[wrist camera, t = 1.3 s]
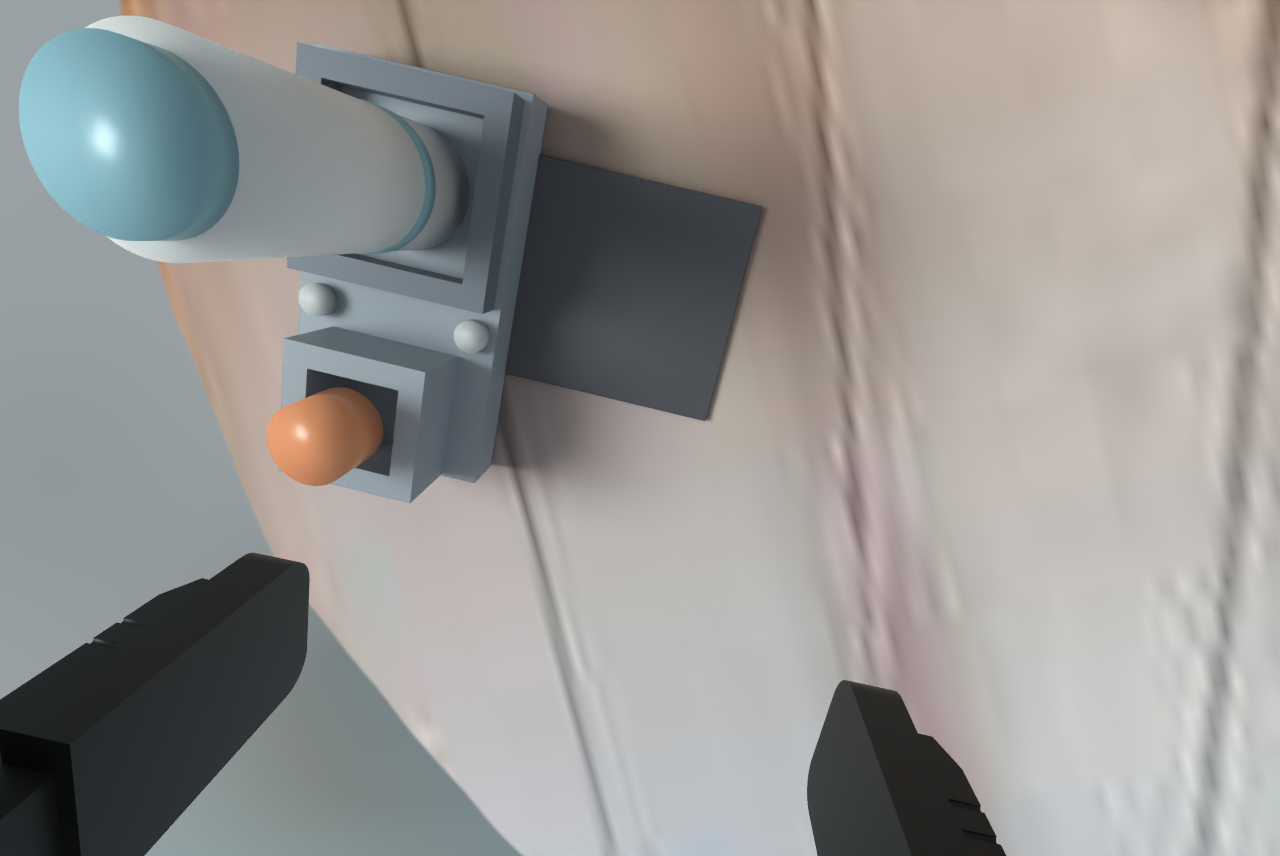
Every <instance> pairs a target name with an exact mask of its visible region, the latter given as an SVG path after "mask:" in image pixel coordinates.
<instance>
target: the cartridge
mask: <svg viewBox="0 0 1280 856" xmlns="http://www.w3.org/2000/svg"><path fill="white" fill-rule="evenodd" d="M19 121H20V128H21V134H22V137H23V142H24V146H25V149H26V151H27V154H28V157H29V159H30V162H31V164H32V165H33V168H34V170H35V172H36V174H37V176H38V177H39V179H40V181H41V182H42V184H43V185H44V187H45V188H46V189H47V191H48V192H49V194H50V195H51V196H52V197H53V198H54V199H55V201H56V202H57V203H58V204H59V205H60V206H61V207H62V208H63V209H64V210H65V211H66V212H67V213H68V214H69V215H71V216H72V217H73V218H75V219H76V220H77V221H79V222H80V223H81V224H83V225H85V226H86V227H88V228H90V229H91V230H93V231H96V232H98V233H100V234H102V235H105V236H106V237H108V238H109V239H111V240H112V241H113V242H114V243H116V244H118V245H120V246H121V247H123V248H125V249H126V250H128V251H130V252H133V253H135V254H137V255H139V256H141V257H145V258H148V259H151V260H155V261H160V262H166V263H193V262H211V261H229V260H247V259H265V258H283V257H301V256H318V255H336V254H354V253H357V254H379V253H387V252H391V251H408V250H423V249H429V248H432V247H435V246H438V245H440V244H442V243H443V242H445V241H447V240H448V239H449V238H450V237H451V236H452V235H453V234H454V233H455V232H456V231H457V230H458V228H459V227H460V225H461V224H462V222H463V220H464V218H465V215H466V212H467V209H468V203H469V181H468V176H467V172H466V169H465V166H464V164H463V161H462V159H461V157H460V156H459V154H458V152H457V151H456V149H455V148H454V147H453V145H452V144H451V143H450V142H449V141H448V140H447V139H446V138H445V137H444V136H442V135H441V134H440V133H438V132H437V131H435V130H434V129H432V128H430V127H428V126H426V125H423V124H421V123H418V122H415V121H413V120H410V119H408V118H405V117H403V116H400V115H398V114H395V113H394V112H392V111H390V110H388V109H386V108H384V107H382V106H379V105H377V104H374V103H372V102H368V101H365V100H362V99H357V98H355V97H352V96H350V95H347V94H344V93H342V92H339V91H337V90H334V89H332V88H329V87H327V86H324V85H322V84H319V83H317V82H314V81H312V80H309V79H306V78H304V77H301V76H299V75H296V74H294V73H291V72H289V71H286V70H284V69H281V68H279V67H276V66H274V65H271V64H268V63H266V62H263V61H261V60H258V59H256V58H253V57H251V56H248V55H246V54H243V53H241V52H238V51H235V50H233V49H230V48H228V47H225V46H223V45H220V44H218V43H215V42H213V41H210V40H208V39H205V38H203V37H200V36H197V35H195V34H192V33H190V32H187V31H185V30H182V29H180V28H177V27H175V26H172V25H170V24H167V23H164V22H161V21H158V20H155V19H151V18H147V17H140V16H116V17H110V18H105V19H103V20H100V21H97V22H94V23H92V24H91V25H89V26H87V27H85V28H81V29H75V30H70V31H67V32H65V33H62V34H59V35H58V36H56V37H54V38H52V39H51V40H49V41H48V42H47V43H46V44H45V45H43V46H42V47H41V48H40V50H39V51H38V52H37V53H36V54H35V55H34V57H33V59H32V60H31V62H30V64H29V65H28V67H27V70H26V72H25V75H24V77H23V81H22V85H21V89H20V97H19Z"/></svg>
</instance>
